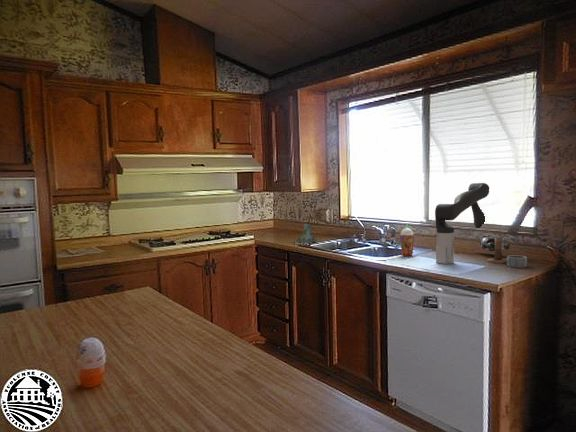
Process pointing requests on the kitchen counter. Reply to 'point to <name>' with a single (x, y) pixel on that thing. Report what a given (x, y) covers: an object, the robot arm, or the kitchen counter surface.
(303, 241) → the tree stump
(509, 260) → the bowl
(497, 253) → the wooden post stand
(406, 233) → the smoothie
